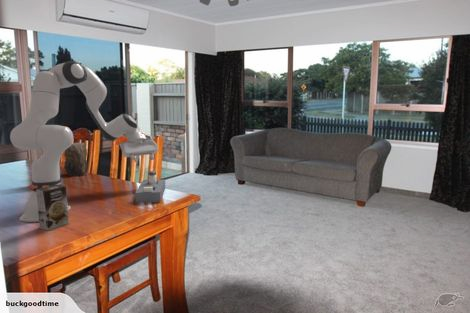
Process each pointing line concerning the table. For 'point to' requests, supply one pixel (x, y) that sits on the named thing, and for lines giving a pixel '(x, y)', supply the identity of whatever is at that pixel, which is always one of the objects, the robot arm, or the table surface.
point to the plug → (152, 177)
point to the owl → (76, 159)
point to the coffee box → (52, 207)
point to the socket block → (150, 191)
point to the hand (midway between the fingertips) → (144, 160)
